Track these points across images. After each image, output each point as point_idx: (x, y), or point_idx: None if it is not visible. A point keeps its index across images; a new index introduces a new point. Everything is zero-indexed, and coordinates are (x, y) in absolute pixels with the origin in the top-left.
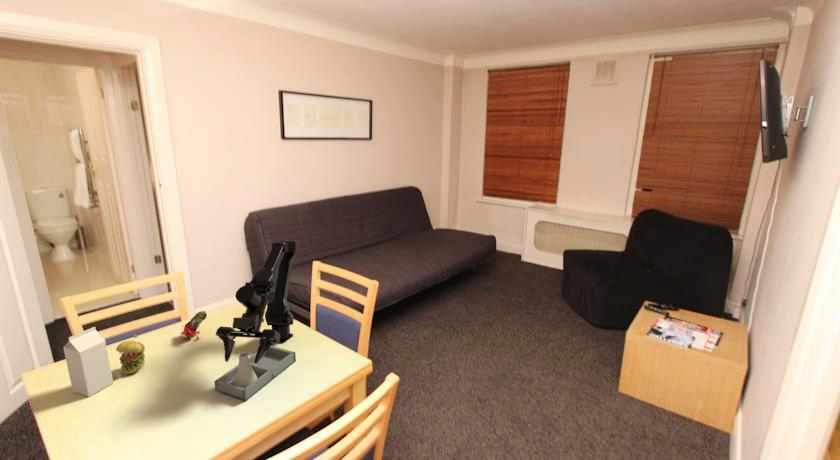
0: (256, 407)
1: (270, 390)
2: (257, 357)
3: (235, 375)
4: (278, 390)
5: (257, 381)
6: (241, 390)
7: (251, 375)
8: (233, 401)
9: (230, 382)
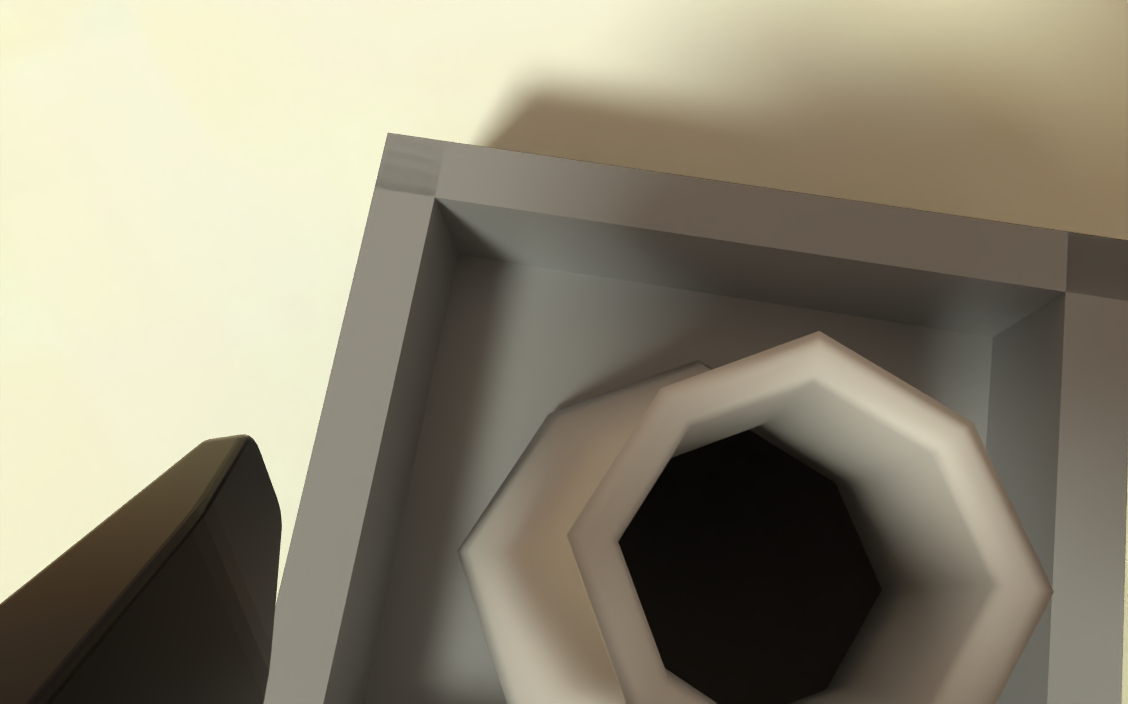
0: (210, 151)
1: None
2: (109, 531)
3: None
4: None
5: (319, 439)
6: (464, 147)
7: (514, 541)
8: None
9: None
